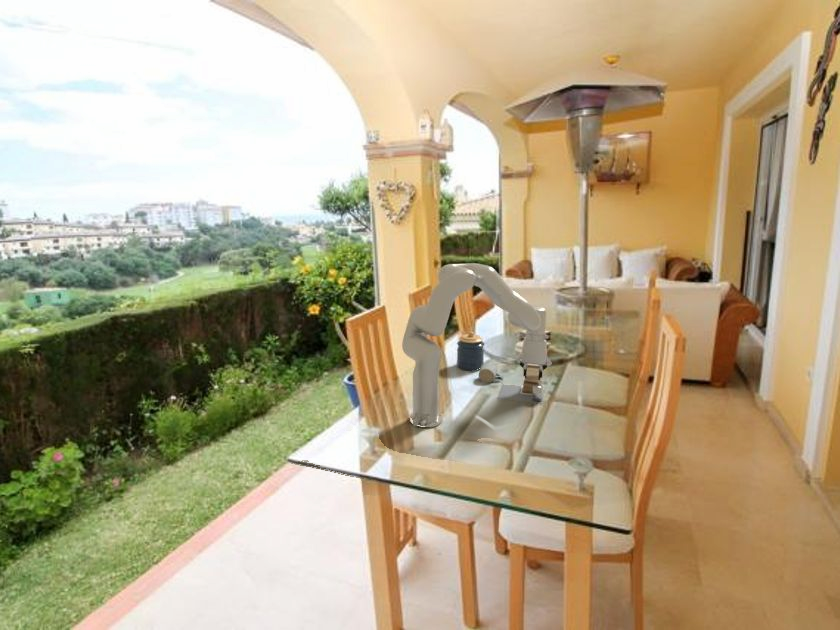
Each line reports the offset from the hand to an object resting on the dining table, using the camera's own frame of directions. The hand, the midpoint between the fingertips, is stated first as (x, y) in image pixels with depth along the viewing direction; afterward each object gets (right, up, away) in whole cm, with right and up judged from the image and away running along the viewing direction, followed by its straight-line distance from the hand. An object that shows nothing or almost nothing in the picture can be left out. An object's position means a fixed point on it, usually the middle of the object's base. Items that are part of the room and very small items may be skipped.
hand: (532, 377), depth 203 cm
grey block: (0, -8, -8) cm, 11 cm away
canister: (-23, +1, +32) cm, 39 cm away
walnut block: (0, -5, +2) cm, 6 cm away
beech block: (0, -1, 0) cm, 1 cm away
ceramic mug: (-16, -3, +14) cm, 22 cm away
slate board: (-5, -7, 0) cm, 8 cm away
